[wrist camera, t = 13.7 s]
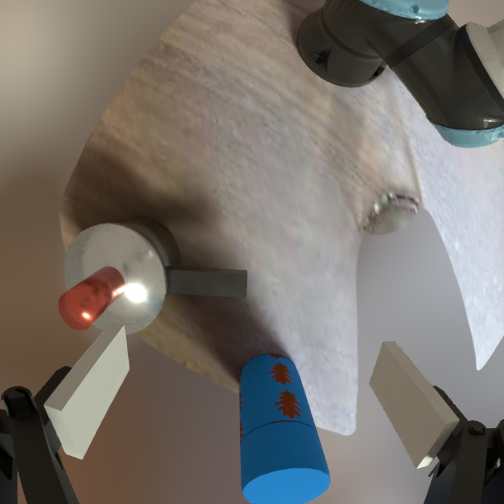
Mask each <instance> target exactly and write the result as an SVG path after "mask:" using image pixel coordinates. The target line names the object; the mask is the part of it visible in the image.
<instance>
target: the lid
mask: <svg viewBox="0 0 504 504" xmlns="http://www.w3.org/2000/svg"><path fill="white" fill-rule="evenodd" d="M64 281H65V286H66V289H67V292H65V293H64V294H63V295H62V296H61V297H60V300H59V312H60V315H61V317H62V318H63V320H64V321H65V323H66V324H67V325H69V326H70V327H71V328H73V329H75V330H86V329H87V328H89V327H90V326H91V325H93V326H95V327H97V328H99V329H101V330H103V331H104V330H105V328H106V327H107V326H108V325H109V324H110V323H111V322H113V323H119V324H125V334H131V333H135V332H138V331H140V330H142V329H144V328H146V327H147V326H148V325H149V324H151V323H152V321H153V320H154V319H155V318H156V316H157V315H158V313H159V312H160V310H161V308H162V306H163V304H164V302H165V298H166V294H167V283H168V282H167V274H166V269H165V266H164V263H163V260H162V258H161V256H160V254H159V252H158V251H157V249H156V247H155V246H154V245H153V244H152V242H151V241H150V240H149V239H148V238H147V237H146V236H145V235H143V234H142V233H141V232H139V231H138V230H136V229H134V228H133V227H130V226H128V225H125V224H121V223H113V222H111V223H102V224H98V225H95V226H92V227H90V228H88V229H86V230H84V231H82V232H81V233H80V234H79V235H78V236H77V237H76V238H75V239H74V240H73V242H72V243H71V245H70V247H69V249H68V251H67V254H66V257H65V262H64Z"/></svg>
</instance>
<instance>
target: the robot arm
mask: <svg viewBox="0 0 504 504" xmlns="http://www.w3.org/2000/svg"><path fill="white" fill-rule="evenodd" d="M448 7H449V0H326V2H325V4H324V6H323V7H322V8H320V9H318V10H317V11H315V12H313V13H312V14H310V15H309V16H308V17H307V18H306V19H305V20H304V22H303V23H302V25H301V27H300V30H299V32H298V37H297V45H298V49H299V52H300V55H301V57H302V59H303V60H304V62H305V63H306V65H307V66H308V67H309V68H310V69H311V70H312V71H313V72H314V73H315V74H317V75H318V76H319V77H321V78H322V79H324V80H326V81H328V82H330V83H332V84H335V85H338V86H343V87H361V86H364V85H367V84H369V83H371V82H372V81H374V80H375V79H376V78H378V77H379V76H380V75H381V74H382V72H383V71H384V69H385V67H386V64H387V65H388V66H389V67H390V68H391V70H392V71H393V72H394V73H395V74H396V76H397V77H398V78H399V79H400V80H401V82H402V83H403V84H404V85H405V87H406V88H407V89H408V90H409V92H410V93H411V94H412V96H413V97H414V98H415V100H416V101H417V102H418V104H419V105H420V106H421V108H422V109H423V111H424V112H425V113H426V117H427V119H428V120H429V122H430V123H432V124H433V125H434V126H435V128H436V129H437V130H438V132H439V133H440V135H441V136H442V138H443V139H444V140H445V141H447V142H448V143H450V144H451V145H453V146H456V147H461V148H475V147H481V146H486V145H489V144H492V143H495V142H497V141H498V138H503V137H504V19H503V20H501V21H499V22H498V23H496V24H494V25H492V26H490V27H483V26H481V25H478V24H475V23H472V22H469V23H467V24H465V25H463V26H462V27H460V28H459V27H458V26H457V25H456V23H455V22H454V21H453V20H452V19H451V17H450V16H449V15H448V14H447V10H448ZM128 371H129V361H128V353H127V344H126V334H125V324H119V323H113V322H111V323H110V324H109V325H108V326H107V327H106V328H105V330H104V331H103V332H102V333H101V334H100V335H99V337H98V338H97V339H96V340H95V341H94V342H93V344H92V345H91V346H90V347H89V349H88V350H87V351H86V352H85V353H84V354H83V356H82V357H81V358H80V359H79V361H78V362H77V363H76V364H75V365H74V367H73V368H71V367H67V366H64V367H63V368H61V369H59V370H57V371H56V372H55V373H54V374H53V375H52V377H51V378H50V379H49V380H48V381H47V382H46V385H44V386H43V387H42V389H41V390H40V391H39V392H38V393H37V394H36V396H35V397H34V398H33V396H32V394H31V392H30V391H29V390H28V389H27V388H24V387H22V386H15V387H11V388H9V389H7V390H6V391H4V393H3V394H2V397H1V401H2V403H3V405H4V407H5V410H3V409H0V504H18V501H17V500H18V498H17V472H19V476H20V480H21V484H22V488H23V491H24V495H25V498H26V501H27V504H79V501H78V499H77V497H76V495H75V493H74V490H73V488H72V486H71V483H70V481H69V478H68V476H67V474H66V471H65V468H64V466H63V463H62V460H61V457H60V455H59V453H58V450H59V448H60V446H61V445H62V447H63V449H64V451H65V453H66V454H68V455H71V456H74V457H76V458H79V459H83V457H84V455H85V453H86V451H87V449H88V447H89V445H90V443H91V441H92V439H93V437H94V435H95V433H96V431H97V429H98V427H99V425H100V423H101V421H102V419H103V418H104V416H105V414H106V412H107V410H108V408H109V406H110V404H111V402H112V400H113V398H114V397H115V395H116V393H117V391H118V389H119V387H120V385H121V384H122V382H123V380H124V378H125V376H126V375H127V373H128ZM369 384H370V386H371V387H372V389H373V391H374V393H375V395H376V396H377V398H378V400H379V402H380V403H381V405H382V407H383V409H384V411H385V412H386V414H387V415H388V418H389V419H390V421H391V423H392V425H393V427H394V428H395V430H396V432H397V434H398V436H399V437H400V439H401V441H402V443H403V445H404V446H405V449H406V450H407V452H408V454H409V456H410V458H411V460H412V461H413V464H414V465H415V467H416V469H417V468H420V467H424V466H427V465H430V464H431V463H432V461H433V460H434V458H435V457H436V456H437V457H438V459H439V460H440V461H439V462H438V463H437V465H436V466H435V467H434V469H433V470H432V471H431V472H430V474H429V477H430V476H431V475H432V474H433V473H434V474H433V478H432V481H431V484H430V487H429V490H428V493H427V496H426V499H425V501H424V504H504V419H503V420H501V421H500V423H499V424H498V426H497V427H496V428H487V429H486V427H485V426H484V425H483V424H482V423H480V422H478V421H473V420H471V421H468V420H467V419H466V418H465V417H464V415H463V414H462V413H461V412H460V410H459V409H458V408H457V407H456V405H455V404H453V402H452V401H451V399H449V397H448V396H447V395H446V393H445V392H444V391H443V390H441V389H440V388H438V387H437V386H432V385H431V384H430V382H429V381H428V380H427V379H426V378H425V377H424V375H423V374H422V373H421V372H420V371H419V369H418V368H417V367H416V366H415V365H414V363H413V362H412V361H411V360H410V359H409V357H408V356H407V355H406V354H405V353H404V352H403V350H402V349H401V348H400V347H399V346H398V345H397V344H396V342H395V341H394V342H383V343H382V346H381V349H380V352H379V355H378V358H377V362H376V364H375V367H374V371H373V373H372V376H371V379H370V382H369ZM499 460H500V466H499V467H497V463H498V461H499Z"/></svg>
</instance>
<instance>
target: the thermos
mask: <svg viewBox="0 0 504 504" xmlns="http://www.w3.org/2000/svg"><path fill="white" fill-rule="evenodd" d="M239 396H240V447H241V449H240V451H241V452H240V453H241V486H242V491H243V496H244V497H245V498H246V499H247V500H248V501H249V502H251V503H253V504H303V503H306V502H309V501H311V500H313V499H314V498H316V497H318V496H320V495H321V494H322V493H324V492H325V491H326V490H327V489H328V487H329V484H330V474H329V469H328V466H327V462H326V459H325V456H324V453H323V449H322V446H321V443H320V440H319V436H318V433H317V430H316V427H315V423H314V420H313V417H312V414H311V410H310V407H309V404H308V401H307V397H306V394H305V391H304V388H303V385H302V382H301V379H300V376H299V374H298V371H297V369H296V366H295V365H294V364H293V363H292V362H291V360H290V359H288V358H286V357H284V356H282V355H276V354H266V355H260V356H258V357H256V358H254V359H252V360H250V361H249V362H248V363H247V364H246V365H245V366H244V367H243V370H242V372H241V374H240V386H239Z"/></svg>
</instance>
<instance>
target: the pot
mask: <svg viewBox="0 0 504 504" xmlns="http://www.w3.org/2000/svg"><path fill="white" fill-rule="evenodd" d="M118 223H121V224H125V225H128V226H130V227H133V228H134V229H136V230H138V231H139V232H141V233H142V234H143V235H145V236H146V237H147V238H148V239H149V240H150V241H151V242H152V244H153V245H154V246H155V247H156V249H157V251H158V252H159V254H160V256H161V258H162V260H163V263H164V266H165V269H166V274H167V282H168V283H167V293H174V294H187V295H203V296H220V297H239V298H246V288H247V270H228V269H210V268H192V267H180V253H179V249H178V246H177V243H176V241H175V239H174V237H173V236H172V234H171V233H170V232H169V231H168V230H167V229H166V228H165V227H164V226H163V225H162V224H160V223H158V222H157V221H155V220H152V219H149V218H143V217H135V218H130V219H127V220H124V221H121V222H118Z"/></svg>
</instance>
